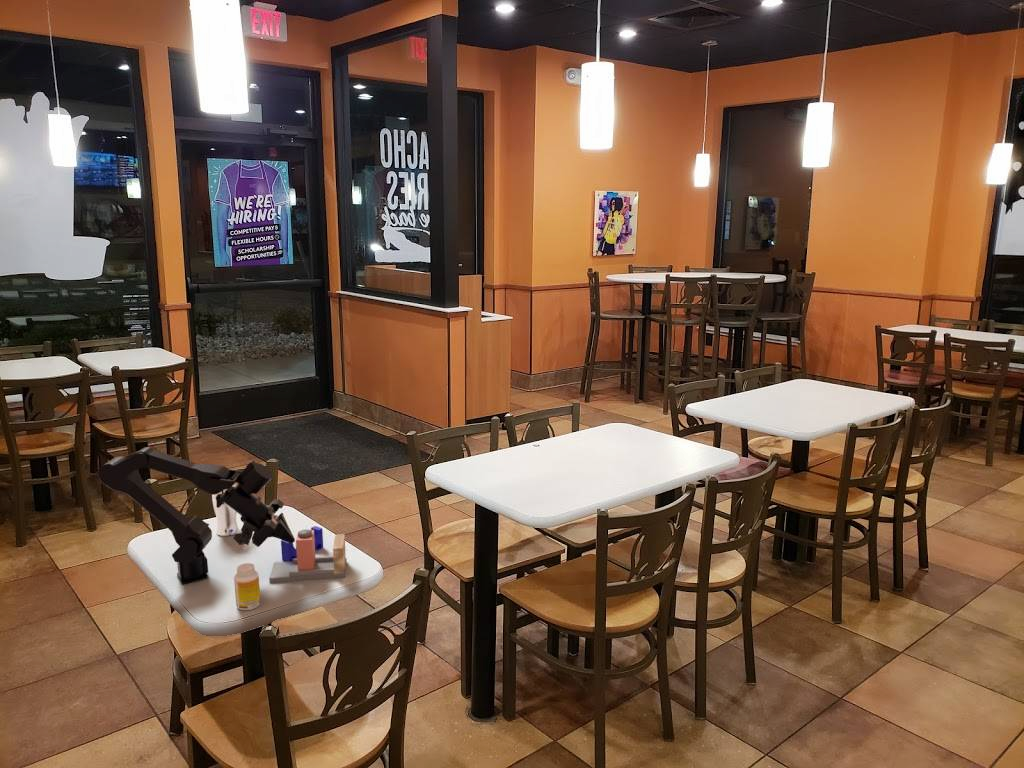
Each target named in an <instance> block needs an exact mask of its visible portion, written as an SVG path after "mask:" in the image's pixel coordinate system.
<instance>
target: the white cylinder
mask: <svg viewBox="0 0 1024 768" xmlns="http://www.w3.org/2000/svg"><path fill="white" fill-rule="evenodd" d="M236 485H237V482H236V483H235V484H234V485H233V486H232V487H235V486H236ZM226 490H227V489H225V490H222V491H221V492H220V493H218V494H223V493H224V492H225V491H226ZM218 494H215V495H212V494H211V500H212V505H213V506H212V507H213V511H214V514H215V516H216V521H217V528H216V534H217V535H218V536H219V535H220V536H219V537H230V536H229V535H231V536H234V535H235V533H236V531H240V529H239V527H238V521H237V516H238V513H237V512H236V511H235V510H233V509H232V508H231V507H230V506H228V505H227V504H226V503H223V504H222V505H221V506H220V507H219V508H217V507H216V506H217V502H216V496H217V495H218ZM233 534H234V535H233Z"/></svg>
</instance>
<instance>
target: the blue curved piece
mask: <svg viewBox="0 0 1024 768" xmlns="http://www.w3.org/2000/svg"><path fill="white" fill-rule="evenodd" d="M310 530H314V539H315V552H317V551H318V550H321V549H323V548H324V532H323V531H324V530H323V528H322V527H320V526H316V525H314V526H312V527H310ZM280 545H281V546H280V547H281V549H280V550H281V560H282V562H291V561H293V559H294V558H297V550H296V547H295V546H294V542H293V543H289V542H286V541H284V540H281V539H280Z"/></svg>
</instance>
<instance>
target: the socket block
mask: <svg viewBox="0 0 1024 768" xmlns="http://www.w3.org/2000/svg"><path fill="white" fill-rule="evenodd" d="M345 537H346V536H345V534H344V533H342V534H341V533H340V534H339V533H338V534H335V535H334V540H333V545H332V556H333V561H334V574H339V573H344V568H345V560H346V559H347V557H346V556H347V554H346V538H345Z"/></svg>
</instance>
